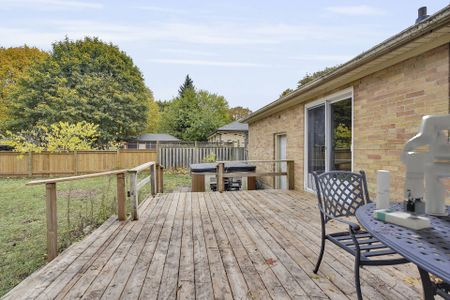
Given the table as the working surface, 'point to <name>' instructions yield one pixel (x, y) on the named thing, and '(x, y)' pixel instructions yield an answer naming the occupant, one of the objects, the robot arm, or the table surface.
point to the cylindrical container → (383, 189)
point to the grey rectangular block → (415, 209)
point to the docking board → (401, 219)
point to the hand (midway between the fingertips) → (414, 210)
